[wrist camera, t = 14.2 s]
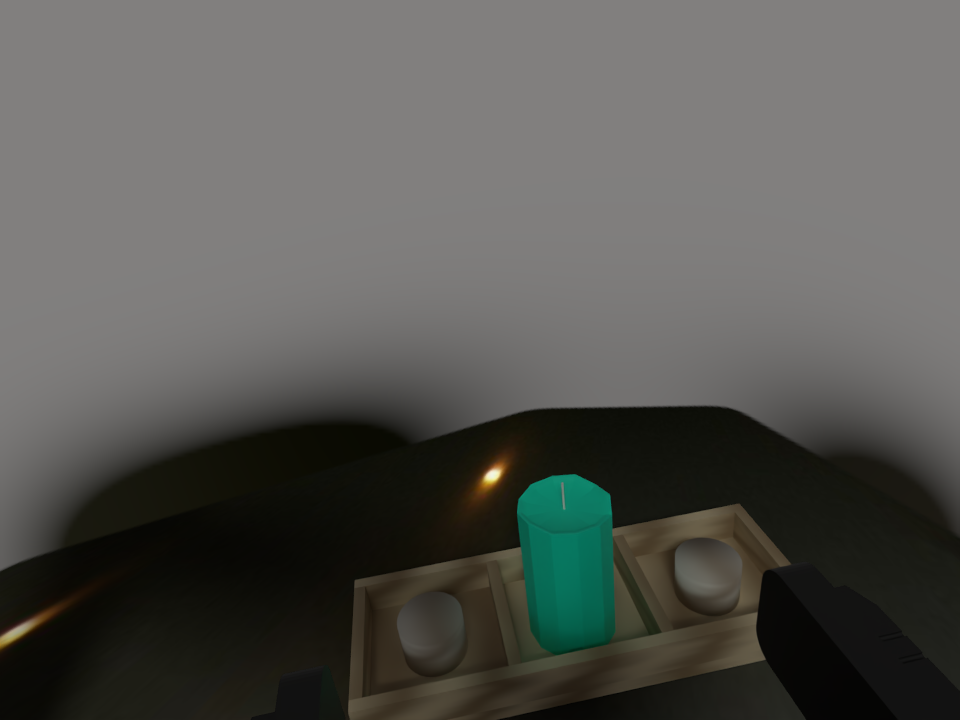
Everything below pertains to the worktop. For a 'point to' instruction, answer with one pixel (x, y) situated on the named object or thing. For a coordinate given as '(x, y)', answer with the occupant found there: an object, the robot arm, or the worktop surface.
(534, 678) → the tray
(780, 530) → the worktop surface
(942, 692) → the robot arm
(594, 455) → the worktop surface
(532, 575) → the candle
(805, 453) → the worktop surface
